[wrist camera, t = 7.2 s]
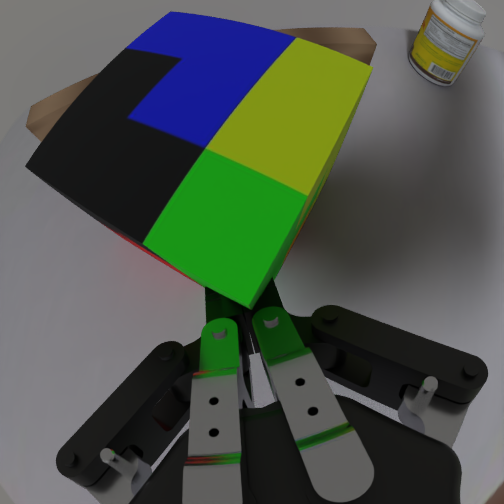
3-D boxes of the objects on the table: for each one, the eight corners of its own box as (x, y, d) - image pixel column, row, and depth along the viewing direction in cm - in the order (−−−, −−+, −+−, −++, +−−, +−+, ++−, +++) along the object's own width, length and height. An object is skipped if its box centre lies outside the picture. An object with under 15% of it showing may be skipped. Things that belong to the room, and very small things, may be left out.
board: (347, 81, 21) (363, 28, 15) (357, 97, 21) (377, 44, 15) (68, 146, 20) (30, 106, 15) (66, 165, 20) (25, 126, 14)
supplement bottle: (429, 51, 23) (460, -13, 13) (461, 86, 22) (503, 23, 12) (396, 53, 22) (426, -22, 13) (431, 91, 21) (476, 16, 11)
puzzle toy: (200, 122, 20) (170, 11, 11) (327, 177, 19) (373, 67, 9) (121, 237, 18) (24, 166, 9) (254, 315, 17) (248, 305, 7)
